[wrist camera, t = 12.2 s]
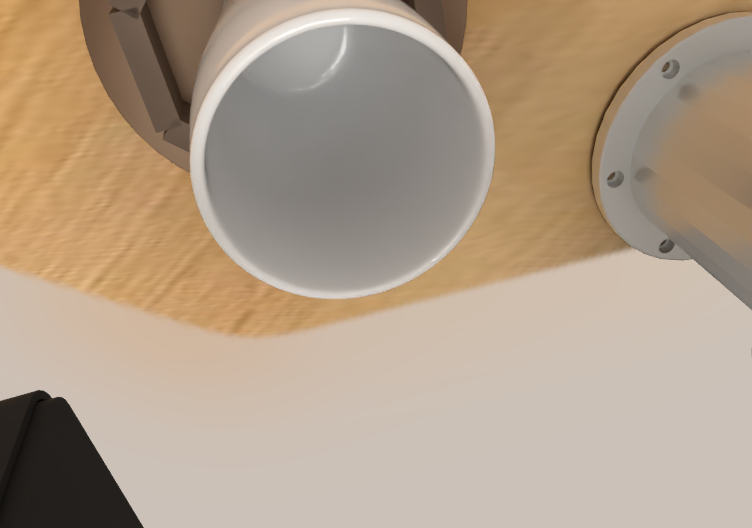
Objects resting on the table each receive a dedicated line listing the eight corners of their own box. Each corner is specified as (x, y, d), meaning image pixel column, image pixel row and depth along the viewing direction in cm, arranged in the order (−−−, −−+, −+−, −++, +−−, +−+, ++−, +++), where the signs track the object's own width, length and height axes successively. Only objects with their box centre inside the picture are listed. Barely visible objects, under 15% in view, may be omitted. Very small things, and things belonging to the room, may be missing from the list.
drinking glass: (303, 139, 30) (365, 350, 17) (165, 37, 27) (118, 203, 14) (408, 11, 28) (562, 143, 16) (272, -114, 25) (327, -76, 12)
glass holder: (428, -253, 25) (457, -266, 22) (480, 137, 33) (506, 165, 30) (8, -151, 24) (-22, -151, 21) (167, 224, 32) (162, 262, 29)
